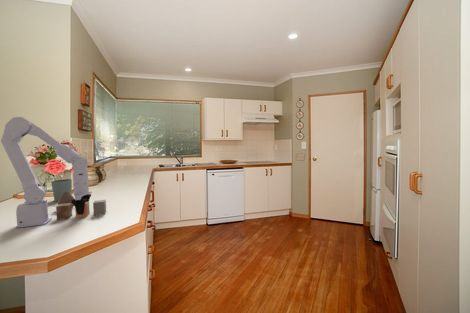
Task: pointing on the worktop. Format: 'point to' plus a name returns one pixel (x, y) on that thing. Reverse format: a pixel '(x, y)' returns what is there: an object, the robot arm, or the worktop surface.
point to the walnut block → (64, 211)
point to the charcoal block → (99, 207)
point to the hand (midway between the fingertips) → (82, 212)
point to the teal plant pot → (61, 187)
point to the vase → (66, 199)
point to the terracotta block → (86, 211)
